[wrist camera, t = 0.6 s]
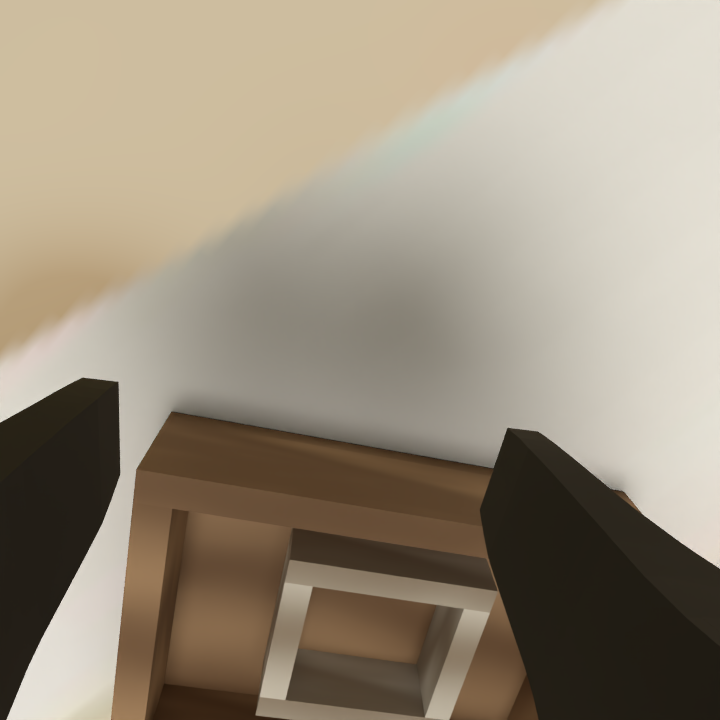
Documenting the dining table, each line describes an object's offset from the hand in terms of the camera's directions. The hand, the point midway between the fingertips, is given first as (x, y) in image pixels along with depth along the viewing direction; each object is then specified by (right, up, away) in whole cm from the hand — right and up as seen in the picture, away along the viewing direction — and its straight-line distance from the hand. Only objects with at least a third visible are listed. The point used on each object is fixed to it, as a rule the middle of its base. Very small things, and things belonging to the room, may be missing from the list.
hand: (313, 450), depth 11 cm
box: (+1, -8, +14) cm, 16 cm away
